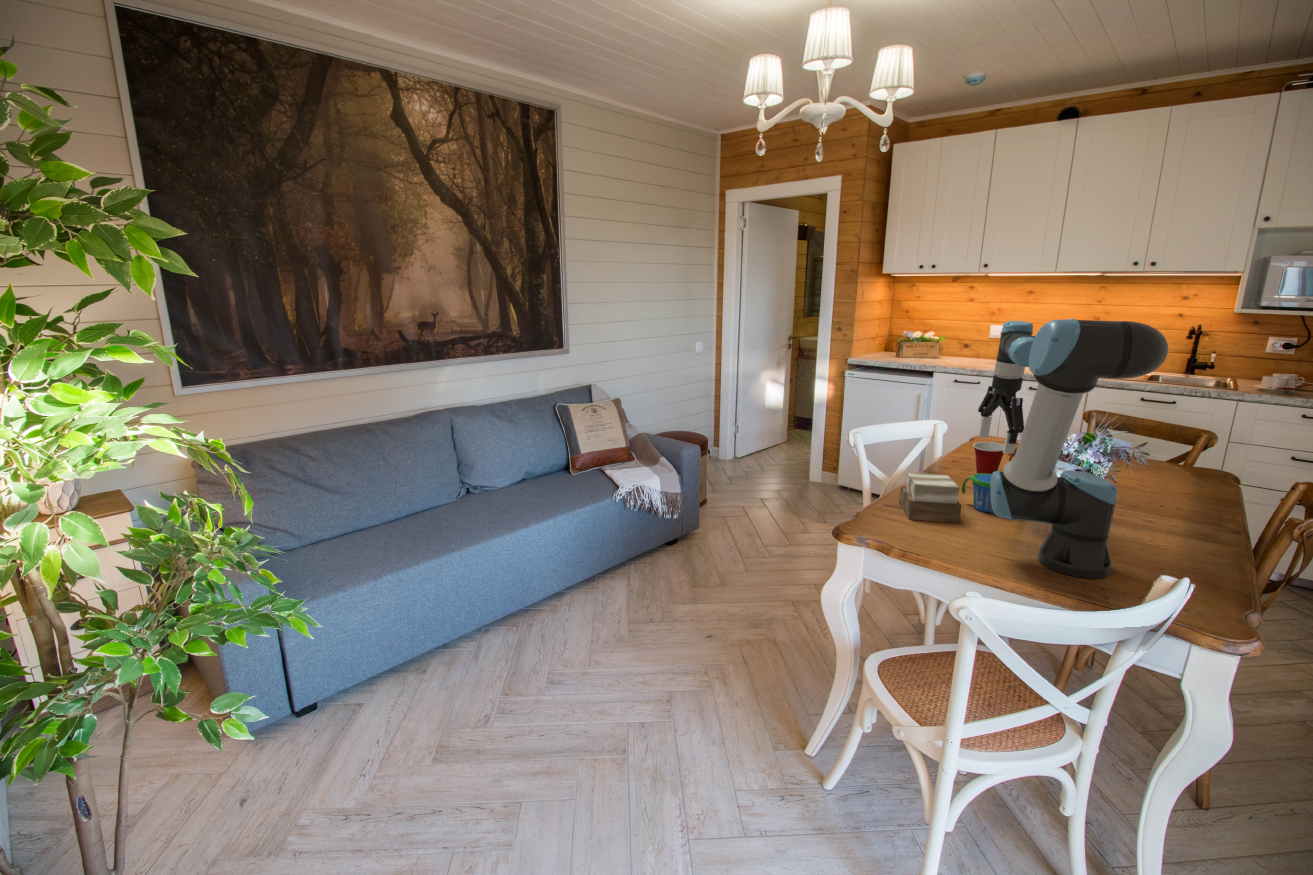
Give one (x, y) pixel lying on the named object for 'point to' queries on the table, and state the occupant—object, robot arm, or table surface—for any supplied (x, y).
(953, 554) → the table surface
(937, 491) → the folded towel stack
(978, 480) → the snack cup
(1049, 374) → the robot arm
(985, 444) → the plastic cup
